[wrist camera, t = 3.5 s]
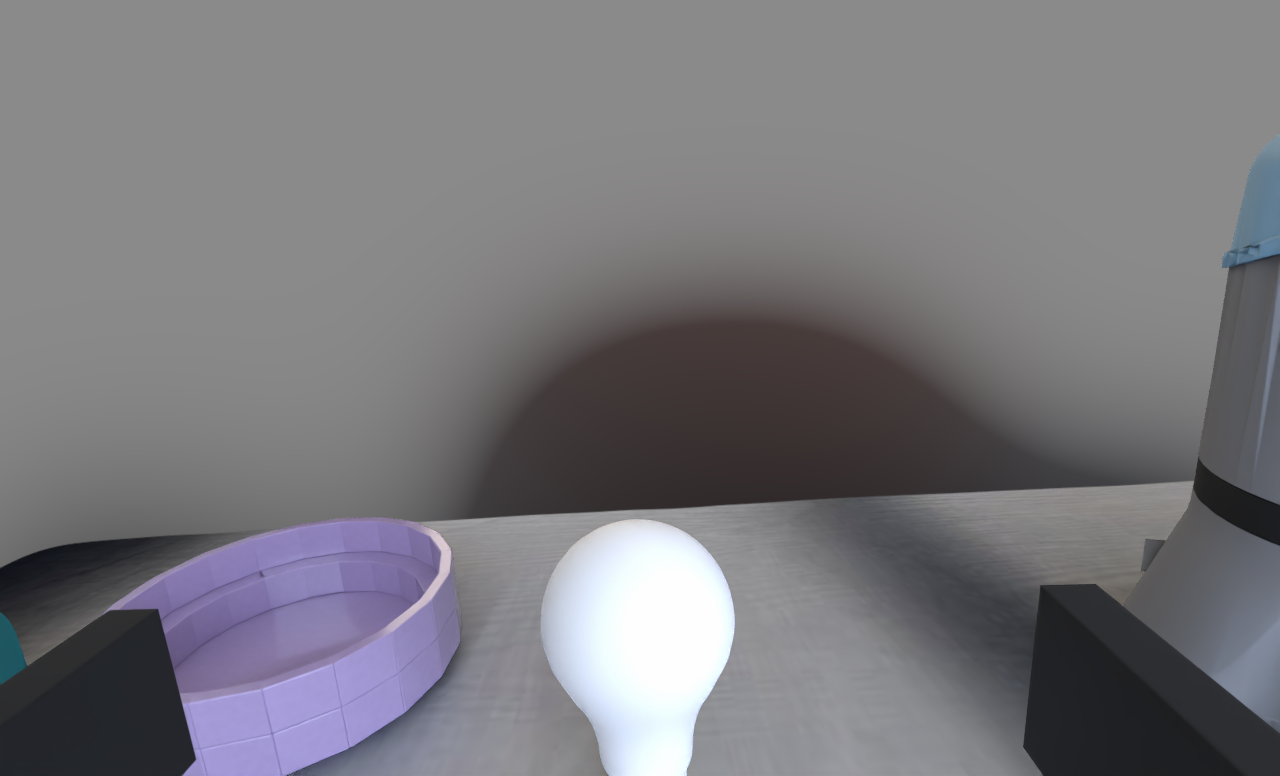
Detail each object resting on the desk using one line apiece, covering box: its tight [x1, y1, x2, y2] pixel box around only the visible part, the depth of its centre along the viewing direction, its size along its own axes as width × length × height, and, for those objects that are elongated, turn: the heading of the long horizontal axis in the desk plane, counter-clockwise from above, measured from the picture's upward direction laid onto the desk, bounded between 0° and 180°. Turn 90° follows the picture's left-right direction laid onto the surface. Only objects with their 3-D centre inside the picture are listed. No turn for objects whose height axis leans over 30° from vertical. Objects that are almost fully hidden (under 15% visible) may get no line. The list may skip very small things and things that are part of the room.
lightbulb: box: [540, 519, 735, 776], centre depth 21 cm, size 6×6×11 cm
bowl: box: [101, 517, 461, 776], centre depth 31 cm, size 15×15×4 cm
